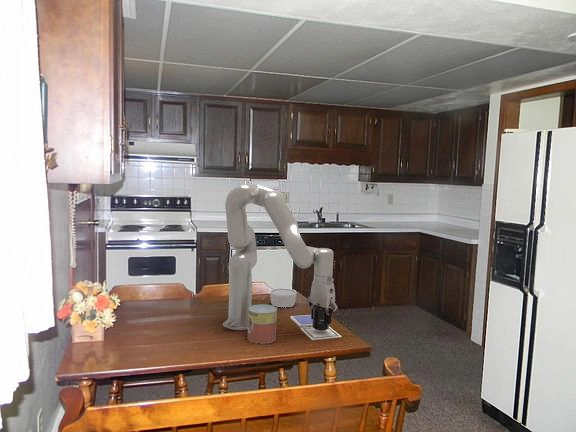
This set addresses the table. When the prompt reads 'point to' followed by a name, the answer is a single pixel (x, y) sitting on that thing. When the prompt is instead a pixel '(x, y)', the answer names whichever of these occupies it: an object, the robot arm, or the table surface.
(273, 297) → the ramekin
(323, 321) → the supplement bottle
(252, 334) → the canned food
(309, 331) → the marked card
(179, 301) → the table surface
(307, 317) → the ink pad
